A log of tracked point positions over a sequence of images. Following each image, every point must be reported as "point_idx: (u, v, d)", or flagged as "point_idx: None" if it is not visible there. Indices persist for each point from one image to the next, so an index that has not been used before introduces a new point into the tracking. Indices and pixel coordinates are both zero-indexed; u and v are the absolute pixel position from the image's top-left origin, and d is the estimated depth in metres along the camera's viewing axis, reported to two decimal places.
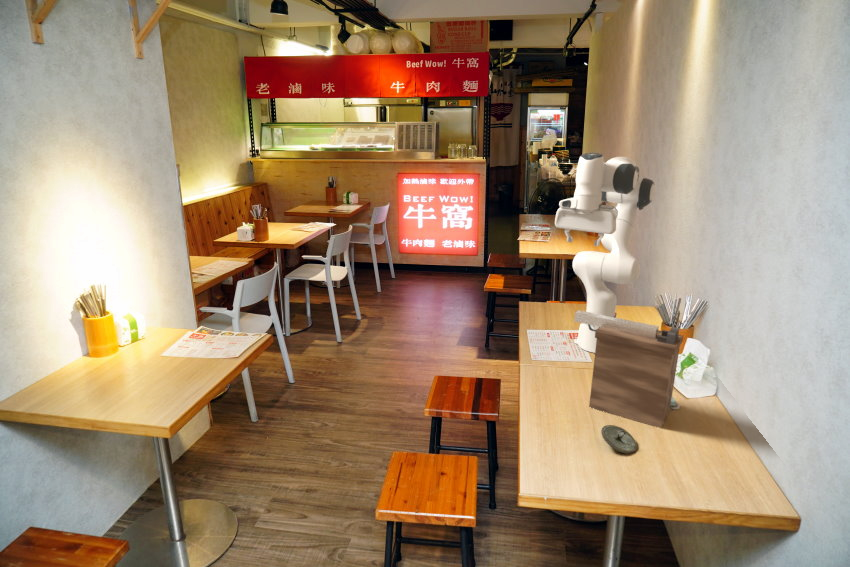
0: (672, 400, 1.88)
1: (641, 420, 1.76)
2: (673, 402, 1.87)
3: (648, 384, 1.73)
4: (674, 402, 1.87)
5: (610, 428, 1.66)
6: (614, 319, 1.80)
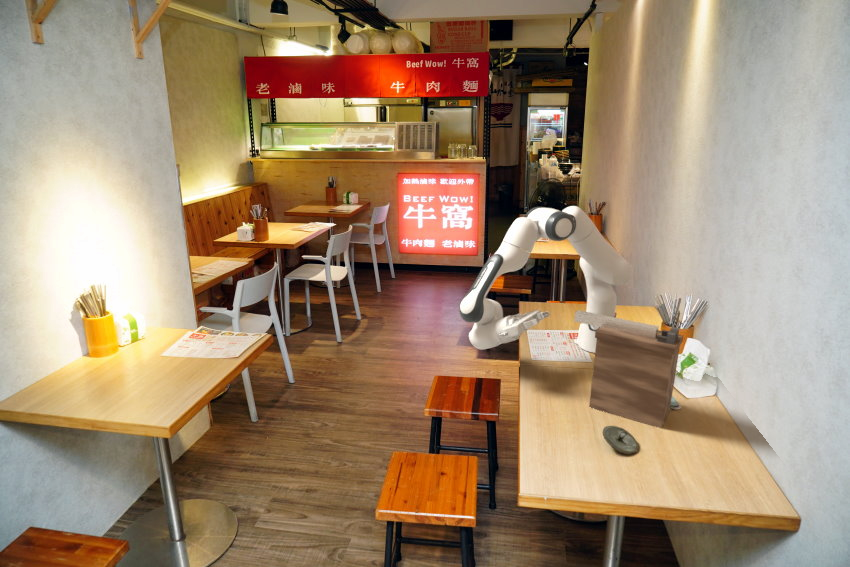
0: (673, 400, 1.88)
1: (641, 420, 1.76)
2: (674, 402, 1.87)
3: (648, 384, 1.73)
4: (675, 402, 1.87)
5: (611, 429, 1.66)
6: (614, 319, 1.80)
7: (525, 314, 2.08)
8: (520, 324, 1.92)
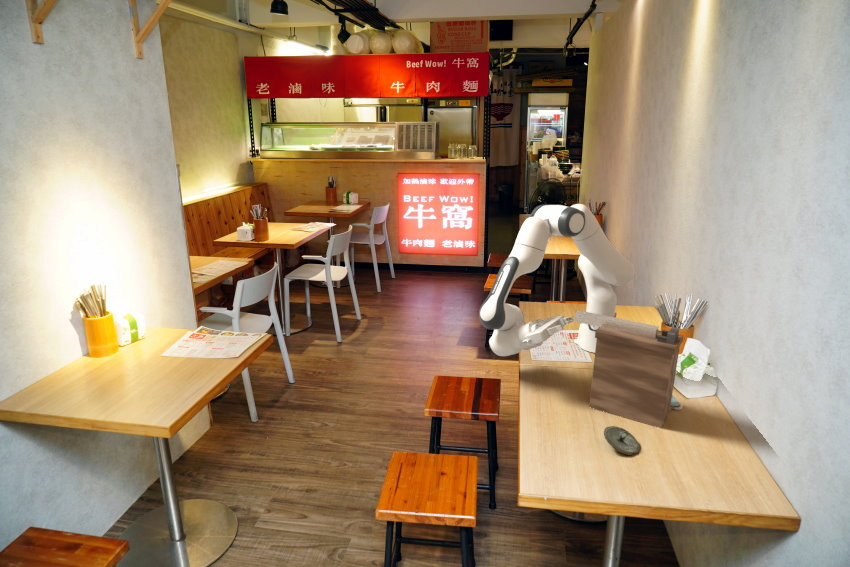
0: (674, 400, 1.88)
1: (641, 420, 1.76)
2: (675, 402, 1.87)
3: (648, 384, 1.73)
4: (676, 402, 1.87)
5: (612, 429, 1.66)
6: (614, 319, 1.80)
7: (547, 319, 2.01)
8: (544, 330, 1.86)
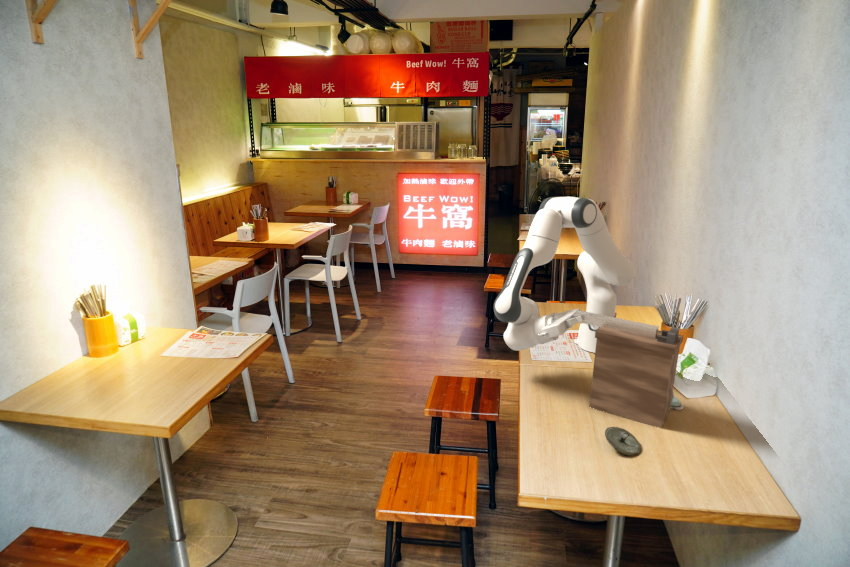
0: (676, 400, 1.88)
1: (641, 420, 1.76)
2: (677, 402, 1.87)
3: (648, 384, 1.73)
4: (678, 402, 1.87)
5: (613, 430, 1.65)
6: (614, 319, 1.80)
7: (563, 313, 1.98)
8: (561, 323, 1.82)
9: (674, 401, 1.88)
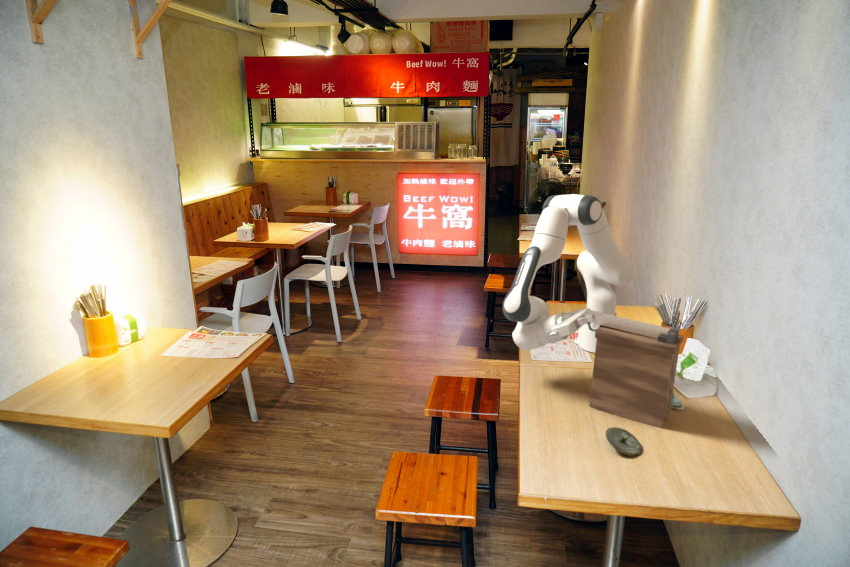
0: (677, 400, 1.88)
1: (641, 420, 1.76)
2: (678, 402, 1.87)
3: (648, 384, 1.73)
4: (679, 402, 1.87)
5: (614, 430, 1.65)
6: (625, 320, 1.78)
7: (573, 312, 1.96)
8: (572, 323, 1.80)
9: (675, 401, 1.88)
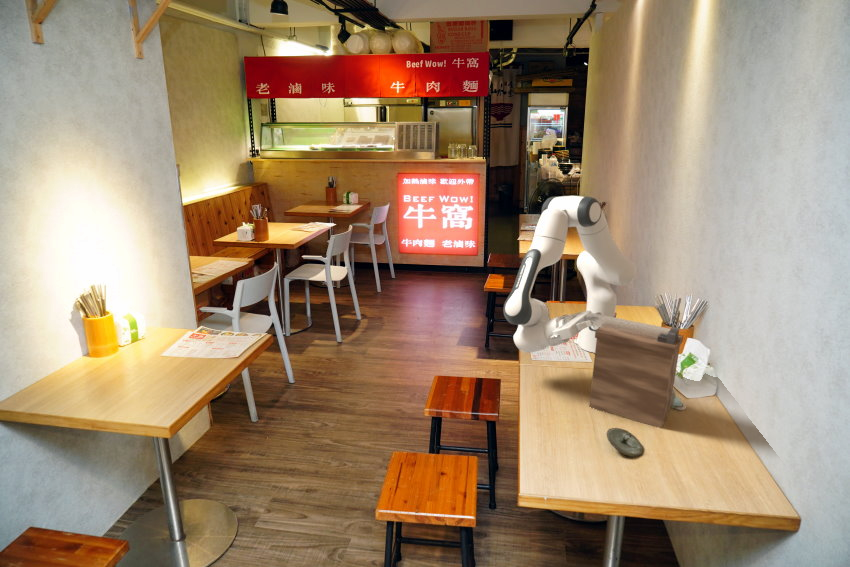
0: (678, 401, 1.88)
1: (641, 420, 1.76)
2: (679, 403, 1.87)
3: (648, 384, 1.73)
4: (680, 403, 1.87)
5: (615, 431, 1.65)
6: (625, 321, 1.78)
7: (574, 315, 1.96)
8: (573, 326, 1.80)
9: (676, 401, 1.88)
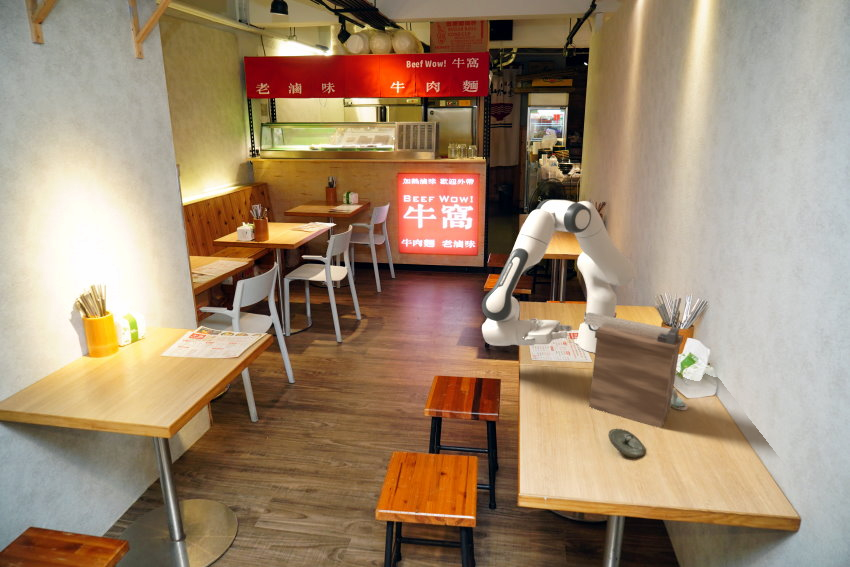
0: (680, 401, 1.88)
1: (641, 420, 1.76)
2: (681, 403, 1.87)
3: (648, 384, 1.73)
4: (682, 403, 1.87)
5: (617, 432, 1.64)
6: (625, 321, 1.78)
7: (543, 321, 2.04)
8: (550, 334, 1.88)
9: (678, 401, 1.88)
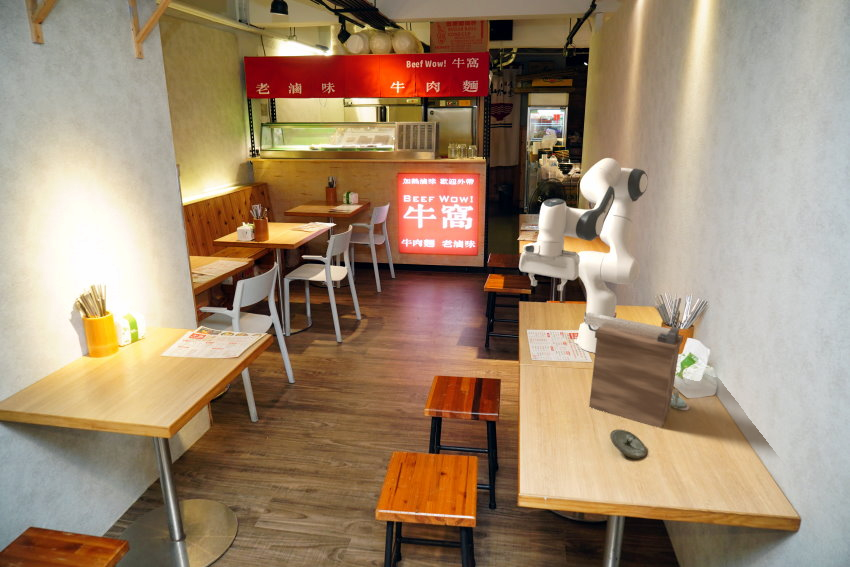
0: (681, 401, 1.88)
1: (641, 420, 1.76)
2: (682, 403, 1.87)
3: (648, 384, 1.73)
4: (683, 403, 1.87)
5: (619, 433, 1.64)
6: (625, 321, 1.78)
7: None
8: None
9: (680, 401, 1.88)
